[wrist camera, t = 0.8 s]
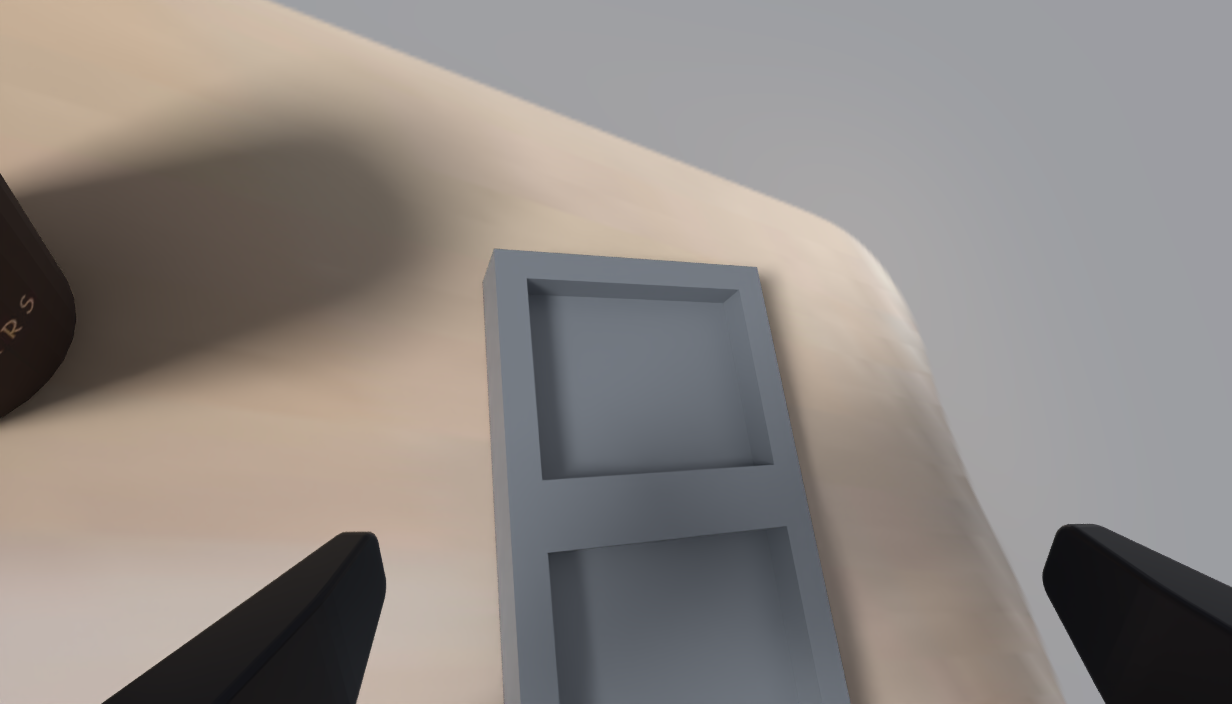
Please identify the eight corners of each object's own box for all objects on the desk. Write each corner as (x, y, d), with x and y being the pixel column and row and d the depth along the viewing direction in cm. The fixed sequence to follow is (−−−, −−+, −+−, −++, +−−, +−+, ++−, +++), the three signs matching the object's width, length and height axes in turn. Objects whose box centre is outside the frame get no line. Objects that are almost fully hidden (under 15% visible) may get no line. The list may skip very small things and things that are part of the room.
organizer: (817, 767, 20) (868, 787, 18) (511, 855, 16) (532, 894, 14) (725, 294, 26) (756, 267, 23) (482, 281, 22) (494, 248, 20)
